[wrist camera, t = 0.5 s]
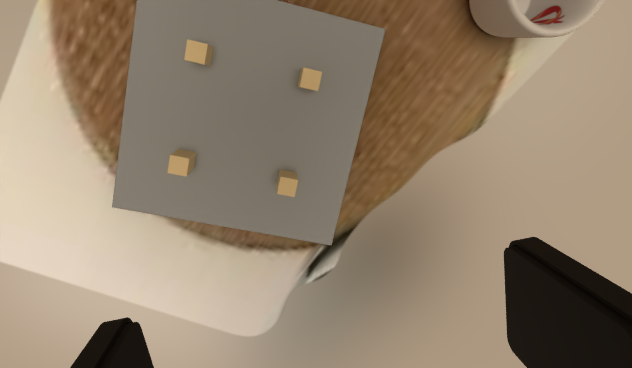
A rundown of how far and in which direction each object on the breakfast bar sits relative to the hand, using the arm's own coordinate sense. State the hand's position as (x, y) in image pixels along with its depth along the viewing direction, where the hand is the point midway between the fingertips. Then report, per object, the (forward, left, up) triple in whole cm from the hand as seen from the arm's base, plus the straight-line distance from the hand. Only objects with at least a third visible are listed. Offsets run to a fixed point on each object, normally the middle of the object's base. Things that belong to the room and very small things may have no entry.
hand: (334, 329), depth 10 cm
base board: (-2, -4, -28) cm, 29 cm away
